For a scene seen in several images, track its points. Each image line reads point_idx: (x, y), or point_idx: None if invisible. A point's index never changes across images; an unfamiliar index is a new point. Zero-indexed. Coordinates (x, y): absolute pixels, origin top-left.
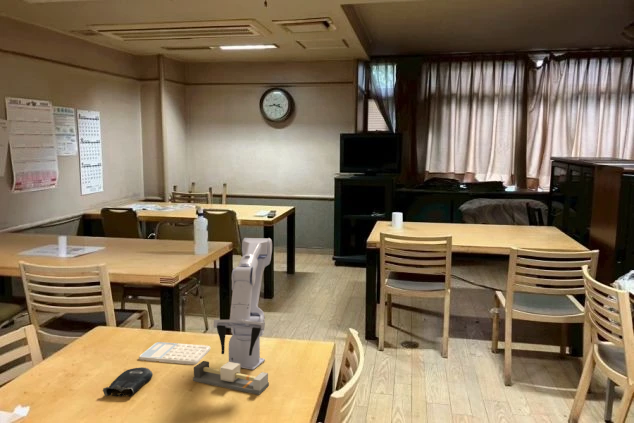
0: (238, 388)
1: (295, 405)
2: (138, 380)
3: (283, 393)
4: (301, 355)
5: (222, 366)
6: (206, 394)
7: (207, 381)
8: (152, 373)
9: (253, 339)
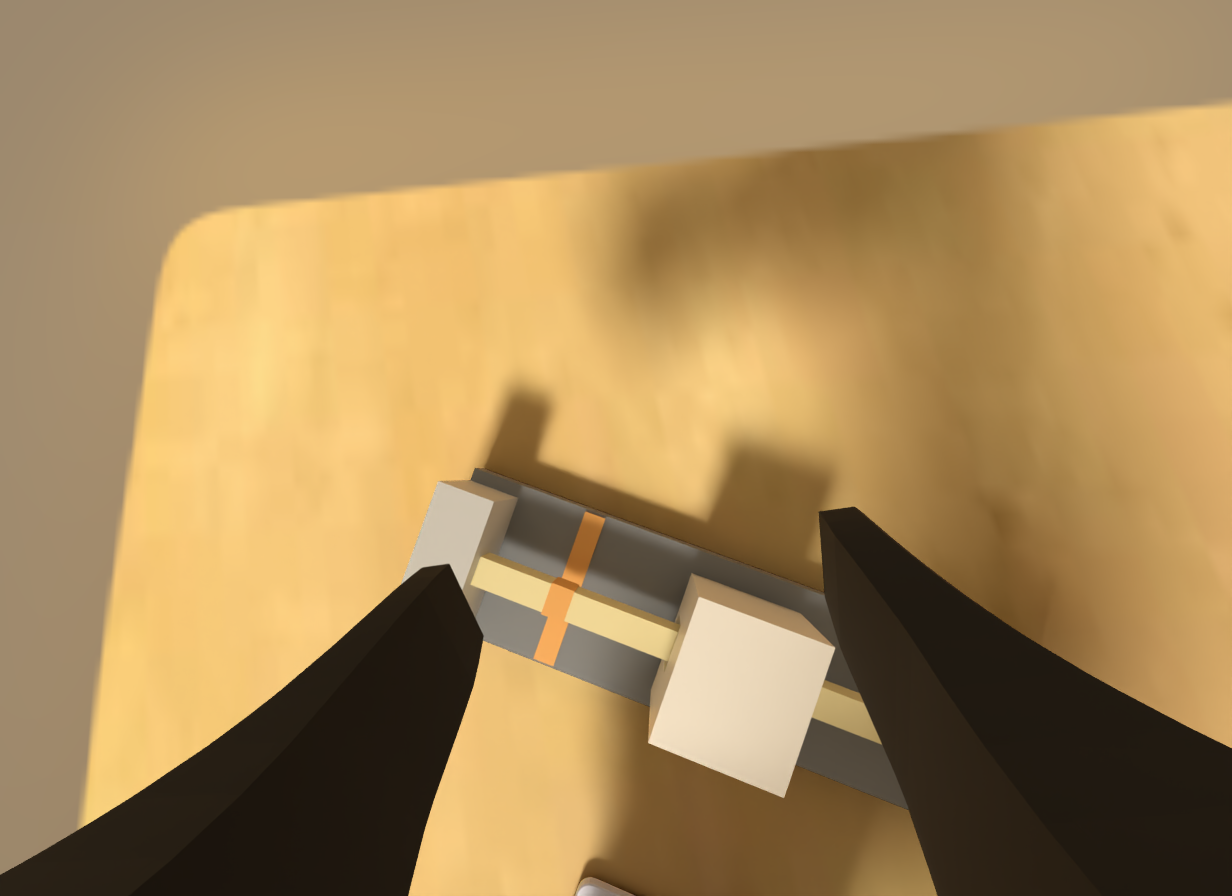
0: (635, 524)
1: (240, 347)
2: None
3: (324, 499)
4: None
5: (818, 671)
6: (858, 453)
7: None
8: None
9: (252, 741)
